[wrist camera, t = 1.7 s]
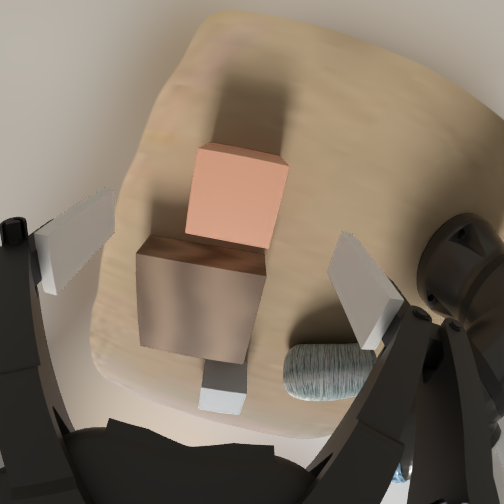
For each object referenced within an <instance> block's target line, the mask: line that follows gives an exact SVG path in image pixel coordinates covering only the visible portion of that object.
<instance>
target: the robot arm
mask: <svg viewBox="0 0 504 504" xmlns="http://www.w3.org/2000/svg"><path fill="white" fill-rule="evenodd" d="M115 194H116V189H112V188H103V189H101V190H99V191H98V192H96V193H94V194H93V195H91V196H89V197H88V198H86V199H84V200H83V201H81V202H79V203H78V204H76V205H75V206H73V207H71V208H70V209H68V210H67V211H65V212H64V213H62V214H61V215H59V216H58V217H56V218H55V219H52V220H50V221H48V222H47V223H46V224H44V225H43V226H41V227H40V228H39V229H37V230H36V231H35V232H33V233H32V234H30V235H29V236H28V231H27V223H26V219H25V218H23V217H13V218H9V219H7V220H5V221H3V222H2V223H1V224H0V235H1V240H2V246H0V451H1V455H2V458H3V462H4V465H5V467H3V468H1V469H0V504H380V503H381V501H382V499H383V497H384V495H385V493H386V491H387V489H388V487H389V485H390V483H391V481H392V482H395V483H399V482H405V481H407V480H408V479H410V487H409V492H408V499H407V504H504V468H503V465H502V463H501V461H500V459H499V456H498V454H497V452H496V450H497V447H498V445H499V442H500V440H501V437H502V431H501V429H500V427H499V425H498V423H497V421H499V420H500V419H501V418H502V417H503V416H504V243H503V241H502V240H501V238H500V237H499V235H498V234H497V232H496V231H495V229H494V228H493V227H492V226H491V225H490V224H489V223H488V222H487V221H485V220H484V219H482V218H481V217H479V216H477V215H475V214H469V213H467V214H461V215H458V216H456V217H454V218H452V219H450V220H449V221H447V222H446V223H445V224H444V225H443V226H442V227H441V228H440V229H439V230H438V231H437V232H436V233H435V234H434V236H433V237H432V239H431V240H430V242H429V243H428V245H427V247H426V248H425V250H424V253H423V255H422V257H421V260H420V263H419V267H418V272H417V289H418V292H419V295H420V297H421V298H422V300H423V301H424V302H425V304H426V305H427V306H428V307H429V308H430V309H431V310H432V311H433V312H435V313H436V314H438V315H440V316H442V317H444V318H445V319H444V321H443V323H442V324H441V326H440V325H437V324H434V323H432V318H431V317H430V315H429V314H428V313H427V312H426V311H425V310H423V309H422V308H419V307H417V306H413V305H412V306H411V305H410V304H409V303H408V301H407V300H406V298H405V297H404V296H403V294H401V292H400V290H399V289H398V288H397V286H396V285H395V284H394V282H393V281H392V280H390V279H389V278H388V277H387V276H386V275H385V273H384V272H383V271H382V270H381V268H380V267H379V266H378V264H377V263H376V262H375V261H374V259H373V258H372V257H371V255H370V254H369V253H368V252H367V250H366V249H365V248H364V247H363V246H362V244H361V243H360V242H359V241H358V239H357V238H356V237H355V236H354V235H353V234H351V233H347V232H343V231H341V234H340V237H339V240H338V243H337V245H336V248H335V251H334V254H333V256H332V259H331V262H330V265H329V267H328V270H327V273H328V276H329V278H330V280H331V282H332V284H333V286H334V288H335V291H336V293H337V295H338V297H339V299H340V302H341V304H342V306H343V308H344V311H345V313H346V315H347V317H348V320H349V322H350V324H351V327H352V329H353V331H354V334H355V336H356V338H357V341H358V343H359V345H360V348H361V349H365V350H376V348H377V346H378V345H379V343H380V342H381V340H382V341H383V343H384V345H385V346H384V348H383V349H382V351H381V352H380V354H379V355H378V357H377V358H376V360H375V361H374V363H373V364H374V366H373V368H372V370H371V372H370V374H369V376H368V377H367V379H366V381H365V383H364V385H363V386H362V388H361V390H360V391H359V393H358V395H357V397H356V398H355V400H354V402H353V403H352V405H351V407H350V408H349V410H348V411H347V413H346V414H345V416H344V418H343V419H342V421H341V422H340V424H339V425H338V427H337V428H336V430H335V431H334V433H333V434H332V436H331V437H330V438H329V440H328V441H327V443H326V444H325V446H324V447H323V448H322V450H321V451H320V452H319V454H318V455H317V456H316V458H315V459H314V460H313V461H312V463H311V464H310V465H309V466H308V467H307V468H306V469H304V468H303V467H301V466H300V465H297V464H296V463H294V462H291V461H290V460H287V459H285V458H282V457H279V456H275V455H274V446H271V445H251V444H237V443H231V444H222V445H213V446H212V445H211V446H199V447H189V446H185V445H182V444H180V443H177V442H175V441H173V440H171V439H168V438H166V437H164V436H162V435H160V434H157V433H155V432H153V431H151V430H149V429H146V428H142V427H139V426H134V425H131V424H127V423H124V422H120V421H117V420H114V419H111V418H109V421H108V423H107V427H106V428H105V427H92V428H84V429H80V430H76V431H75V429H74V427H73V425H72V423H71V421H70V419H69V416H68V414H67V411H66V408H65V405H64V402H63V399H62V396H61V393H60V390H59V387H58V384H57V380H56V377H55V373H54V370H53V366H52V362H51V358H50V354H49V350H48V345H47V341H46V336H45V331H44V326H43V320H42V314H41V307H40V300H39V293H38V288H37V284H38V283H39V282H40V281H41V280H42V284H43V289H44V292H47V293H50V294H53V295H56V296H57V295H58V294H59V293H60V292H61V291H62V289H63V288H64V287H65V286H66V284H68V282H69V281H70V280H71V279H72V278H73V277H74V275H75V274H76V273H77V272H78V271H79V270H80V269H81V268H82V267H83V266H84V264H85V263H86V262H87V261H88V260H89V259H90V258H91V257H92V256H93V255H94V254H95V253H96V252H97V250H98V249H99V248H100V247H101V246H102V245H103V244H104V243H105V242H106V241H107V240H108V239H109V238H110V237H111V236H112V235H113V234H114V228H115Z"/></svg>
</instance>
